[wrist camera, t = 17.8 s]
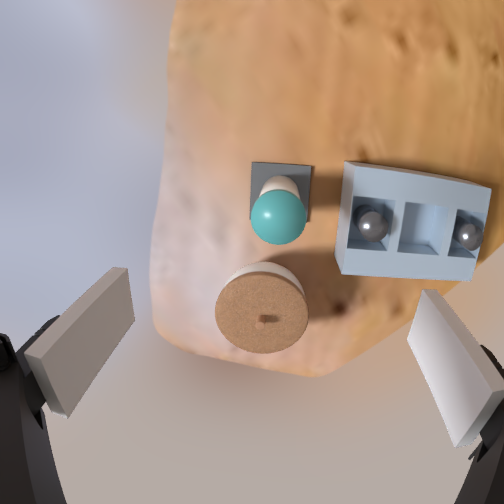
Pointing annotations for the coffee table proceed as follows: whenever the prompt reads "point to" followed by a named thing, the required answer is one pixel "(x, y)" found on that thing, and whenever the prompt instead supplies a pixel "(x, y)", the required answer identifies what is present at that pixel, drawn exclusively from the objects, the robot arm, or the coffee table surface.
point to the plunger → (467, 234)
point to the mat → (294, 172)
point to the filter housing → (408, 223)
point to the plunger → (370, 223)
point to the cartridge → (278, 211)
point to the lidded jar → (262, 308)
